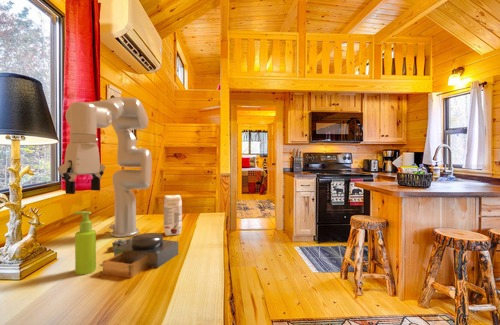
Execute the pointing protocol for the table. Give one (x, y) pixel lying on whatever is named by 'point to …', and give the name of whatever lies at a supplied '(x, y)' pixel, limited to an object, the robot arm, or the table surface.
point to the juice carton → (172, 215)
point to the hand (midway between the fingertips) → (83, 191)
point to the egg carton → (120, 242)
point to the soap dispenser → (85, 246)
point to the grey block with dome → (140, 255)
